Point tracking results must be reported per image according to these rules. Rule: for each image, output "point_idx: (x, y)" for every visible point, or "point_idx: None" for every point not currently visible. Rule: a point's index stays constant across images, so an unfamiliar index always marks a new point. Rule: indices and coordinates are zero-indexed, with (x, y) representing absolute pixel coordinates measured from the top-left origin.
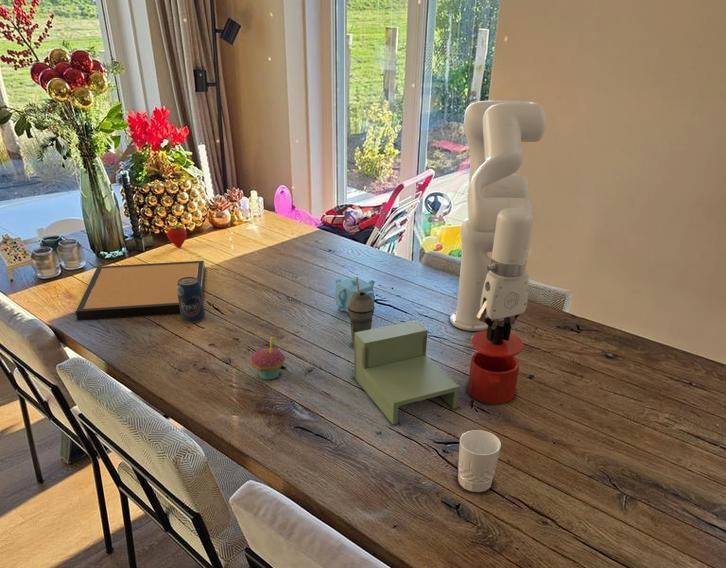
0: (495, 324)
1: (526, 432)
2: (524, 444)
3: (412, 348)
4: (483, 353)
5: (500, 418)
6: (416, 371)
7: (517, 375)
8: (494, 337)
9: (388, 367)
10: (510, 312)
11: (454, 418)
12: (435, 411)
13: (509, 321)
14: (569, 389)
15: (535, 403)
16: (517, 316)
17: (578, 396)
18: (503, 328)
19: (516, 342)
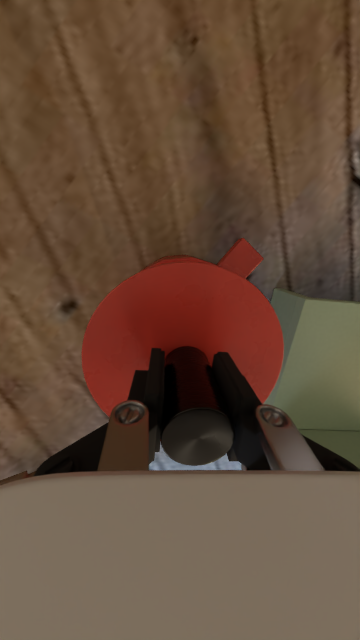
0: (279, 431)
1: (220, 128)
2: (259, 86)
3: None
4: (280, 329)
5: (230, 211)
6: (329, 388)
7: (144, 268)
8: (236, 370)
9: (357, 419)
10: (253, 546)
11: (303, 260)
12: (313, 297)
13: (147, 430)
14: (10, 222)
15: (123, 217)
16: (66, 455)
17: (4, 184)
18: (196, 395)
19: (117, 332)
